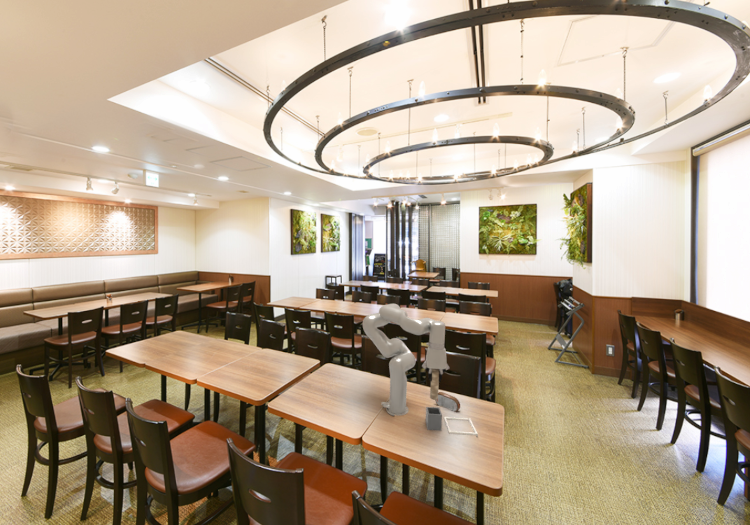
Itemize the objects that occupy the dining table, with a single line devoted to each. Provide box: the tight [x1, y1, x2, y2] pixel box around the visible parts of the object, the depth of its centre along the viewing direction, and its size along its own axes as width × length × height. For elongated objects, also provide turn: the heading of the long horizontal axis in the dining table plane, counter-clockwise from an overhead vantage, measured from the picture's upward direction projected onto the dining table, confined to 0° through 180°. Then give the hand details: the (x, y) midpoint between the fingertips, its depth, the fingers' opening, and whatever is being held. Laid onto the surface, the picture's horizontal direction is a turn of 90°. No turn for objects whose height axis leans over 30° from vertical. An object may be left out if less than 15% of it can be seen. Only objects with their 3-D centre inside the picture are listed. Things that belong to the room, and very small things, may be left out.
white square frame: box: [443, 416, 479, 438], centre depth 148 cm, size 14×13×2 cm
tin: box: [434, 391, 461, 413], centre depth 166 cm, size 15×3×8 cm, turn 49°
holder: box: [425, 406, 443, 432], centre depth 148 cm, size 7×7×9 cm
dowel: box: [429, 369, 440, 401], centre depth 147 cm, size 4×4×14 cm
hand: (434, 380), depth 147 cm, fingers closed on dowel, 4 cm apart
